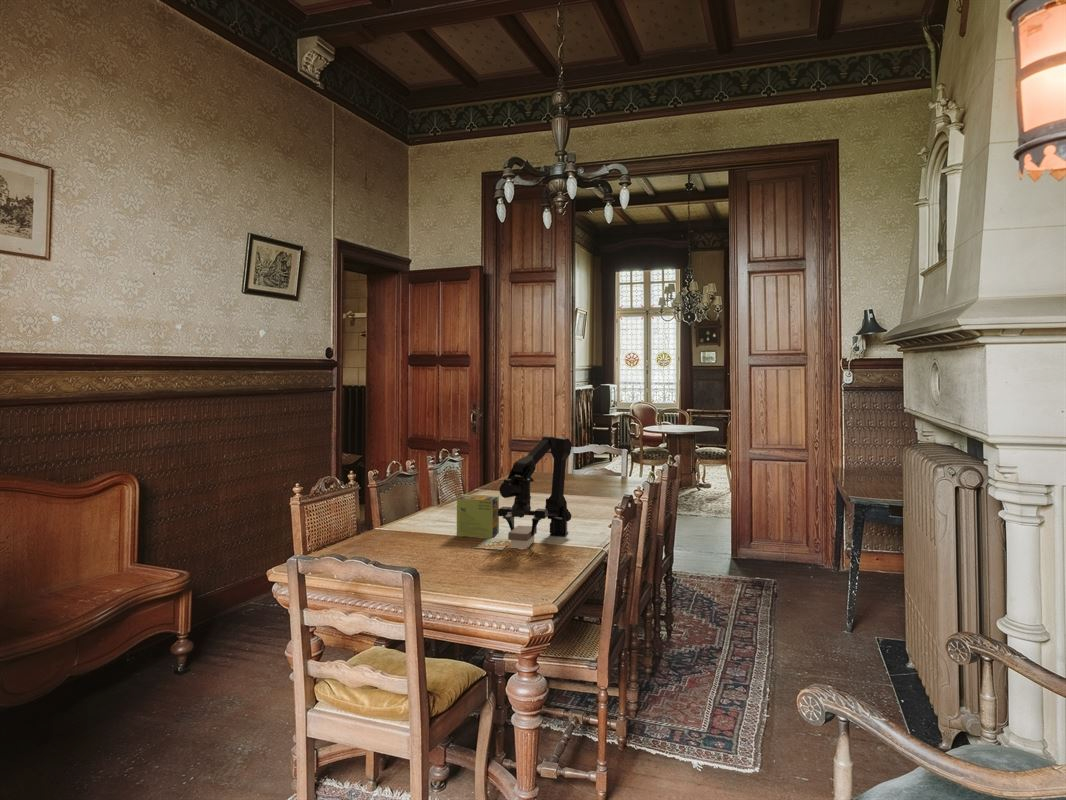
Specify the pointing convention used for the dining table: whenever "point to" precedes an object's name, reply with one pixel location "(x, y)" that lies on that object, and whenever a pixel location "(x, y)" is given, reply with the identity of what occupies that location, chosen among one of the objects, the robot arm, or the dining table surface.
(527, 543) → the box
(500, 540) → the mat
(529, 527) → the lid
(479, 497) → the protein box
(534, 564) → the dining table surface
